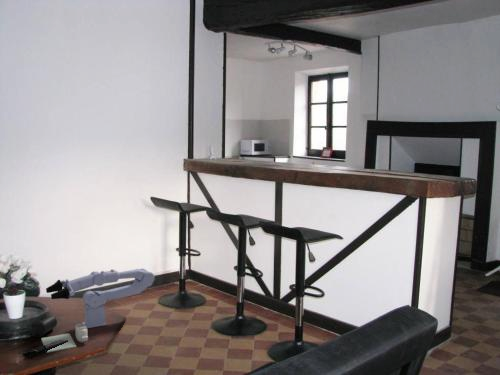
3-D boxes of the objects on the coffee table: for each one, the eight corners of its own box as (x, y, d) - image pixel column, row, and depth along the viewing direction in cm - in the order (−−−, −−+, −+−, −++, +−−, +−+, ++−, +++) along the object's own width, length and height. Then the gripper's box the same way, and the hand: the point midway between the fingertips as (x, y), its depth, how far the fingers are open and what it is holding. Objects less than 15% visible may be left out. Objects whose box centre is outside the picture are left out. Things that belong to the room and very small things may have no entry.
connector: (83, 333, 233) (83, 323, 233) (89, 343, 222) (89, 332, 222) (74, 335, 231) (74, 324, 231) (80, 345, 220) (80, 334, 220)
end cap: (45, 338, 228) (45, 323, 227) (31, 336, 229) (30, 322, 228) (57, 329, 237) (57, 315, 237) (43, 328, 238) (43, 314, 238)
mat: (69, 334, 232) (69, 333, 232) (76, 347, 218) (76, 346, 218) (41, 339, 226) (41, 338, 226) (46, 352, 212) (46, 351, 212)
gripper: (72, 271, 242) (42, 280, 235) (82, 282, 231) (52, 291, 223) (74, 284, 244) (45, 293, 237) (84, 296, 233) (54, 305, 225)
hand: (48, 293), depth 230 cm, fingers open, 7 cm apart
